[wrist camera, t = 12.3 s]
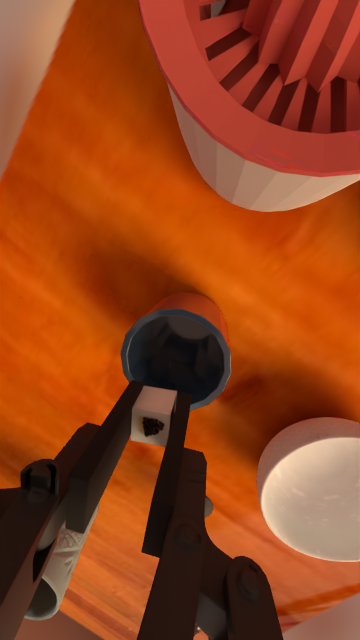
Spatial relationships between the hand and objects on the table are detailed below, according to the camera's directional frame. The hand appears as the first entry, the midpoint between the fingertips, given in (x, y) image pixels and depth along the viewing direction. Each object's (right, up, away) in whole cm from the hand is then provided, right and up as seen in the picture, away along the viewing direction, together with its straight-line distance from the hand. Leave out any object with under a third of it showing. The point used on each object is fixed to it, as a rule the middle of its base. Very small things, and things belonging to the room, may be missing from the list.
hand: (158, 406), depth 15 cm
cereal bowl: (+19, -12, +17) cm, 29 cm away
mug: (+1, +3, +15) cm, 16 cm away
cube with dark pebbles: (0, 0, +1) cm, 1 cm away
